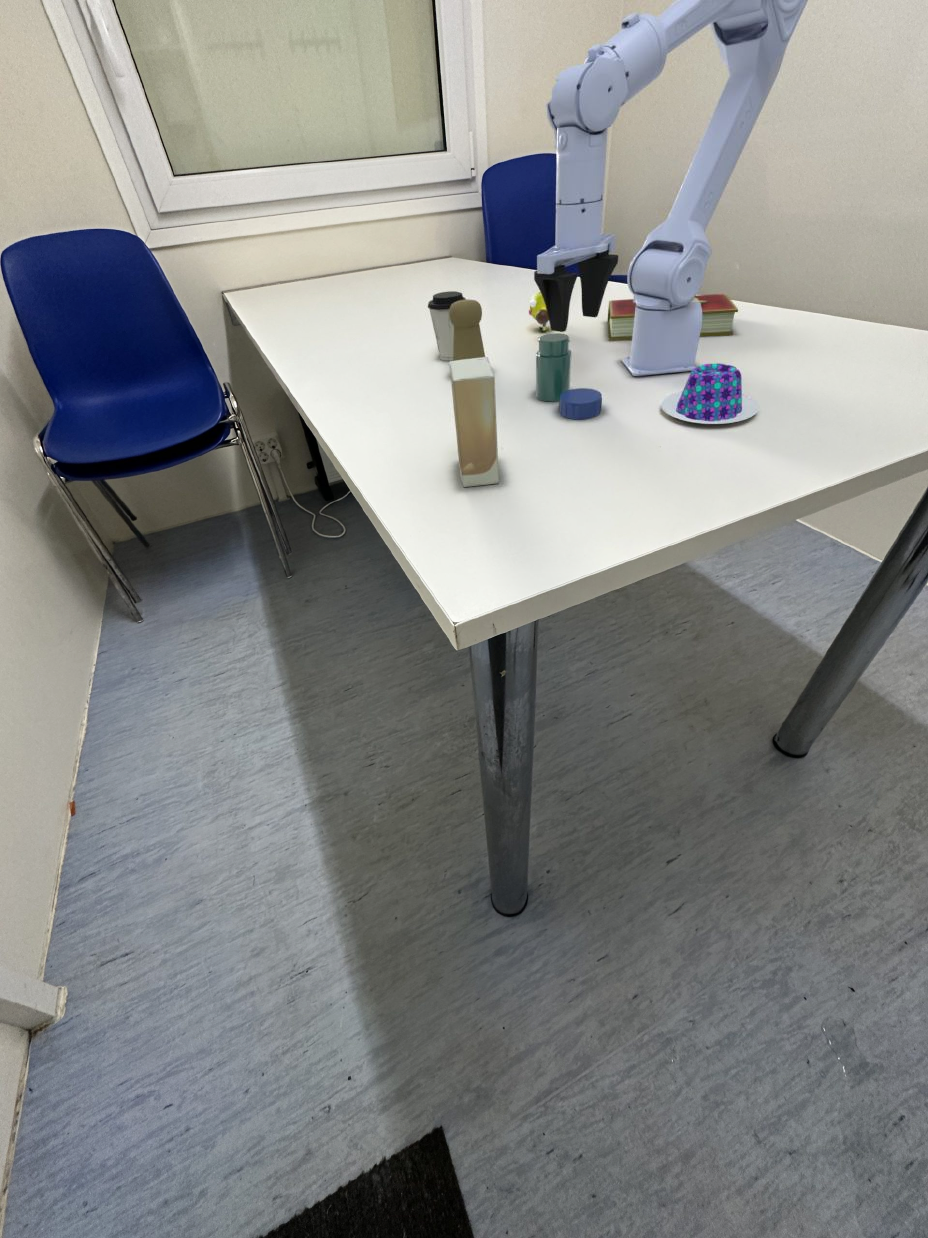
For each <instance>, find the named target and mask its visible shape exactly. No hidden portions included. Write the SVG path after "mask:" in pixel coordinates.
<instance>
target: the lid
mask: <svg viewBox="0 0 928 1238" xmlns="http://www.w3.org/2000/svg"><path fill="white" fill-rule="evenodd" d="M602 405H603V394H602V392H601V391H599V390H597V389H593V388H587V387H585V388H584V387H579V388H570V390H568V391H565V392H563V393H562V394H561V395H560V400H559V401H558V412H559V414H560V415H561V416H562V417H564V418H566V419H569V420H587V419H588V420H589V419H592V418H595V417H597V416H599V415H600V414H601V411H602Z"/></svg>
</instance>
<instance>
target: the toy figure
mask: <svg viewBox="0 0 928 1238" xmlns="http://www.w3.org/2000/svg"><path fill="white" fill-rule="evenodd" d="M528 316H531V317H532V318H533V319H534V320H535V321H536V322H537V324H539V325H542V326H539V327H538V332H541V333H545V332H547V323H548V322H549V318H548V313H547V309H546V305H545V302H544V299H543V296H542V294H541V292H540V291H539V292H537V293H536V294H533V295H531V297H530V301H529V309H528Z"/></svg>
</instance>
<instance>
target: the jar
mask: <svg viewBox="0 0 928 1238" xmlns="http://www.w3.org/2000/svg"><path fill="white" fill-rule="evenodd" d="M570 342H571V340H570V336H569V334H566V333H562V332H554V333H545V334H543V335H540V336H539V337H538V338H537V343H538V350H537V352H535V398H536V399H537V400H538V401H542V402H548V403H549V402H554V403H555V402H559V400H560V395H561V394H562V393H563V392H565V391H568V390H571V373H572V372H571V371H572V351H571V349H570Z"/></svg>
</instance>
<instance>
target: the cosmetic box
mask: <svg viewBox="0 0 928 1238" xmlns="http://www.w3.org/2000/svg"><path fill="white" fill-rule="evenodd" d="M449 373H450V383H451V384H450V385H451V393H452V394H451V395H452V404H453V405H452V406H453V413H454V416H453V417H454V425H455V436H456V445H457V447H456V448H457V456H458V458H457V459H458V467H459V475H460V480H461V484H462V487H463V488H470V487H476V486H477V487H478V486H486V485H494V484H499V483H500V475H499V473H500V472H499V470H500V469H499V452H498V451H499V448H498V447H499V446H498V428H497V427H498V426H497V425H498V424H497V403H496V381H495V380H496V379H495V374H494V370H493V367H492V365H491V362H490V360H489V357H488V356H485V357H481V358H473V359H464V360H457V361H453V360H451V361H449Z"/></svg>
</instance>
